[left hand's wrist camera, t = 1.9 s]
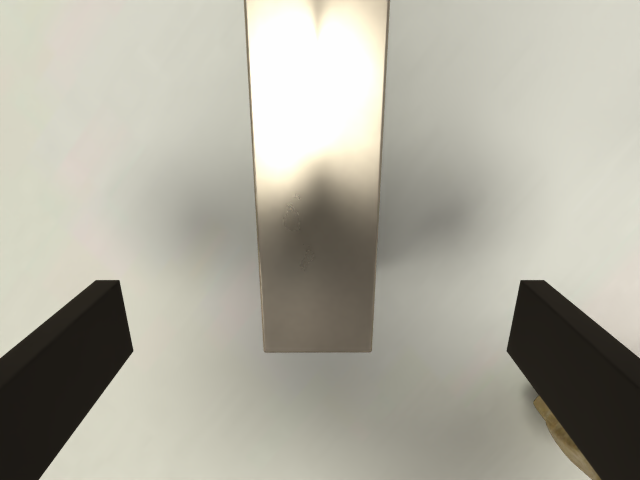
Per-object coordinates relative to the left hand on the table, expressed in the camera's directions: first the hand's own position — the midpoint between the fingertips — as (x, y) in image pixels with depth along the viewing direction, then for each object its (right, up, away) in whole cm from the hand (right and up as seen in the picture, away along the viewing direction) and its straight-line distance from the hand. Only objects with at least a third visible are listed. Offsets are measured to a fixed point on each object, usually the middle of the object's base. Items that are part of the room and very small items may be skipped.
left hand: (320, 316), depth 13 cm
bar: (0, +11, +7) cm, 13 cm away
